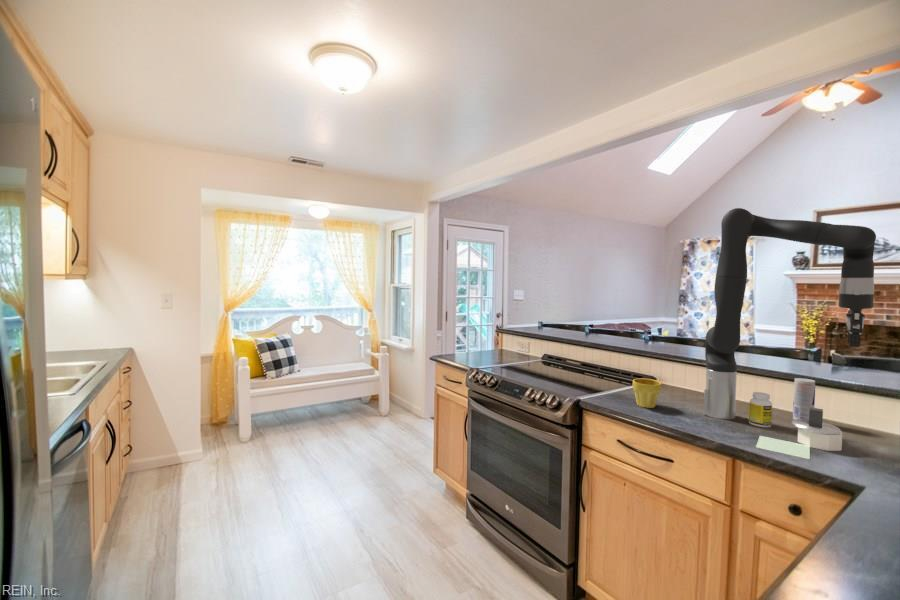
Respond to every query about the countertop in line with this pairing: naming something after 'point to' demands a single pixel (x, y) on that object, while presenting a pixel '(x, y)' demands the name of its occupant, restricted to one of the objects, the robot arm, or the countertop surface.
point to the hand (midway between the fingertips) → (853, 345)
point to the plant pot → (646, 392)
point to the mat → (784, 447)
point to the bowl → (820, 440)
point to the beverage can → (803, 398)
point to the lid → (816, 423)
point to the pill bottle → (760, 410)
